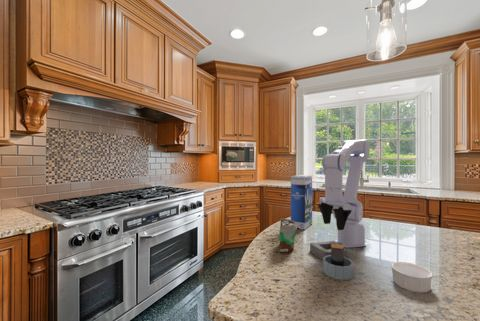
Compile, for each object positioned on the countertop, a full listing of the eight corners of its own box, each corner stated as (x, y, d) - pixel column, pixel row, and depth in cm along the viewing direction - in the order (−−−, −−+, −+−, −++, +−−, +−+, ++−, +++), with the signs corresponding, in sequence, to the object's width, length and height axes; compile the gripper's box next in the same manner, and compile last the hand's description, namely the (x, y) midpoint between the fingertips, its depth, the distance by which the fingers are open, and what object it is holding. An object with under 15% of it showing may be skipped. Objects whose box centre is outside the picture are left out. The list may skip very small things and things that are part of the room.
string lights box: (304, 230, 109) (305, 176, 110) (289, 227, 114) (289, 175, 114) (312, 224, 121) (312, 175, 121) (298, 222, 125) (298, 174, 125)
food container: (297, 256, 79) (297, 227, 79) (279, 255, 80) (279, 226, 80) (296, 244, 91) (296, 218, 91) (280, 242, 92) (280, 218, 92)
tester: (331, 249, 86) (331, 240, 86) (348, 259, 77) (348, 249, 77) (310, 251, 84) (310, 242, 84) (324, 261, 75) (324, 251, 75)
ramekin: (435, 298, 55) (435, 280, 55) (391, 287, 60) (391, 271, 60) (429, 282, 63) (429, 266, 63) (390, 273, 67) (390, 259, 67)
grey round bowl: (340, 265, 73) (340, 254, 73) (359, 278, 65) (359, 265, 65) (317, 267, 71) (317, 256, 71) (334, 281, 63) (334, 268, 63)
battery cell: (338, 267, 70) (338, 241, 70) (346, 273, 66) (347, 245, 66) (328, 268, 69) (328, 242, 69) (335, 274, 65) (336, 246, 66)
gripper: (312, 186, 87) (312, 221, 87) (336, 190, 73) (336, 233, 73) (328, 185, 89) (328, 220, 89) (355, 190, 75) (355, 232, 75)
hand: (333, 226), depth 81 cm, fingers open, 7 cm apart
